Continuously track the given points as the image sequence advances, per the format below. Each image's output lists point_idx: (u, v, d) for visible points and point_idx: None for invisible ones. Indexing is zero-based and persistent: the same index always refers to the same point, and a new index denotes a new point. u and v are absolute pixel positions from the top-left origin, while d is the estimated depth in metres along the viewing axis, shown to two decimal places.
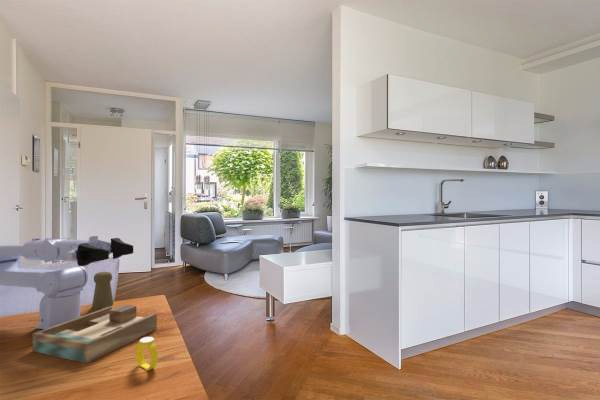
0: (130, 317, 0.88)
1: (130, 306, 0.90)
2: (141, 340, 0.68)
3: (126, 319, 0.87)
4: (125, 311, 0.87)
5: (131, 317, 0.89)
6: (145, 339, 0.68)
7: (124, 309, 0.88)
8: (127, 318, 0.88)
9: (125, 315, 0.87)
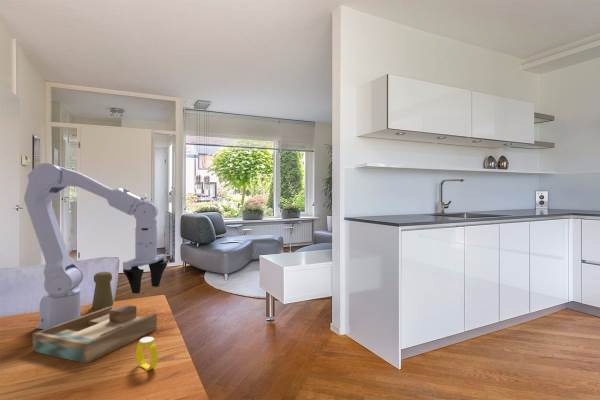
0: (130, 317, 0.88)
1: (130, 306, 0.90)
2: (141, 340, 0.68)
3: (126, 319, 0.87)
4: (125, 311, 0.87)
5: (131, 317, 0.89)
6: (145, 339, 0.68)
7: (124, 309, 0.88)
8: (127, 318, 0.88)
9: (125, 315, 0.87)
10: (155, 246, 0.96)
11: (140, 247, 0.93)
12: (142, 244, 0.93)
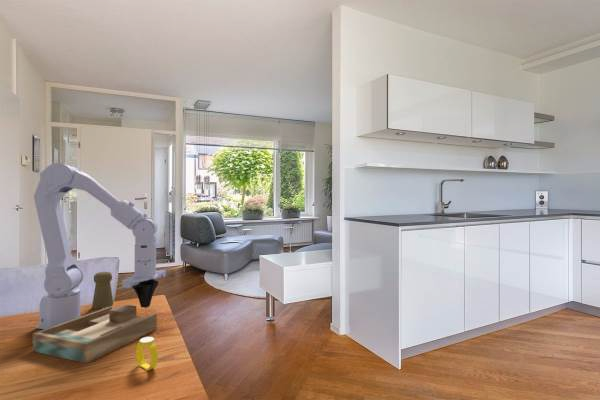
0: (130, 317, 0.88)
1: (130, 306, 0.90)
2: (141, 340, 0.68)
3: (126, 319, 0.87)
4: (125, 311, 0.87)
5: (131, 317, 0.89)
6: (145, 339, 0.68)
7: (124, 309, 0.88)
8: (127, 318, 0.88)
9: (125, 315, 0.87)
10: (154, 263, 0.96)
11: (139, 265, 0.93)
12: (141, 262, 0.93)
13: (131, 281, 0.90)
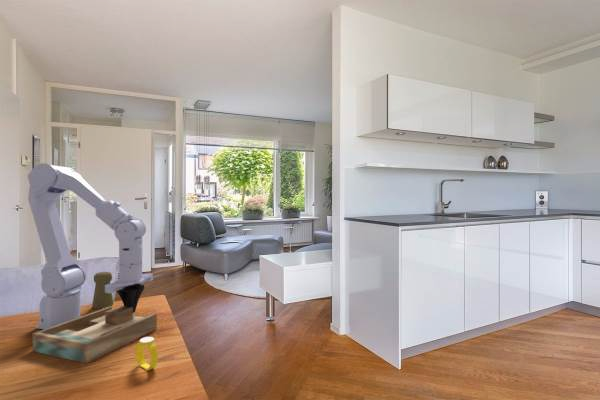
0: (126, 319, 0.87)
1: (126, 307, 0.89)
2: (141, 340, 0.68)
3: (122, 321, 0.86)
4: (121, 312, 0.86)
5: (127, 319, 0.88)
6: (145, 339, 0.68)
7: (120, 310, 0.86)
8: (123, 320, 0.86)
9: (121, 316, 0.86)
10: (140, 267, 0.91)
11: (124, 268, 0.88)
12: (126, 265, 0.88)
13: (115, 286, 0.85)
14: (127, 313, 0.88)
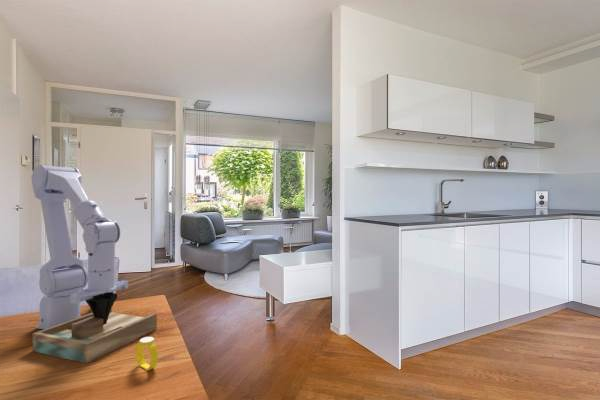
0: (95, 332, 0.79)
1: (96, 319, 0.80)
2: (141, 340, 0.68)
3: (91, 334, 0.78)
4: (89, 325, 0.77)
5: (97, 331, 0.79)
6: (145, 339, 0.68)
7: (88, 323, 0.78)
8: (92, 333, 0.78)
9: (89, 329, 0.77)
10: (112, 273, 0.82)
11: (93, 275, 0.80)
12: (95, 272, 0.80)
13: (81, 295, 0.76)
14: (96, 325, 0.79)
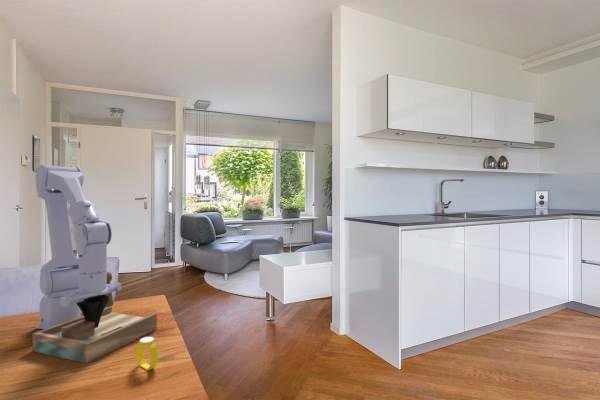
0: (86, 336, 0.76)
1: (87, 322, 0.78)
2: (141, 340, 0.68)
3: (81, 338, 0.75)
4: (80, 329, 0.75)
5: (88, 335, 0.77)
6: (145, 339, 0.68)
7: (79, 326, 0.76)
8: (82, 337, 0.76)
9: (80, 333, 0.75)
10: (104, 275, 0.80)
11: (84, 278, 0.77)
12: (86, 274, 0.77)
13: (71, 298, 0.74)
14: (87, 329, 0.77)
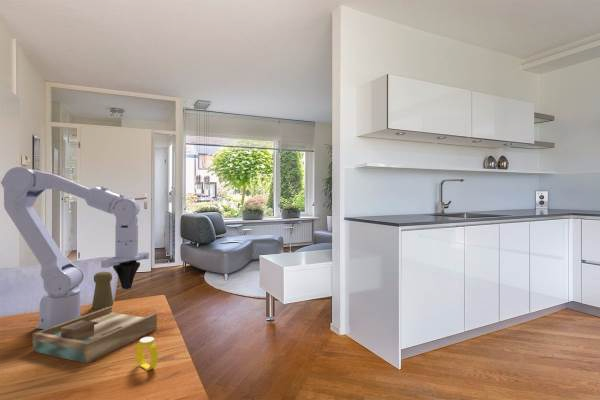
0: (85, 336, 0.76)
1: (87, 322, 0.78)
2: (141, 340, 0.68)
3: (80, 338, 0.75)
4: (79, 329, 0.75)
5: (87, 335, 0.77)
6: (145, 339, 0.68)
7: (78, 326, 0.76)
8: (82, 337, 0.76)
9: (79, 333, 0.75)
10: (136, 244, 0.94)
11: (120, 245, 0.91)
12: (122, 242, 0.91)
13: (110, 261, 0.88)
14: (87, 329, 0.77)
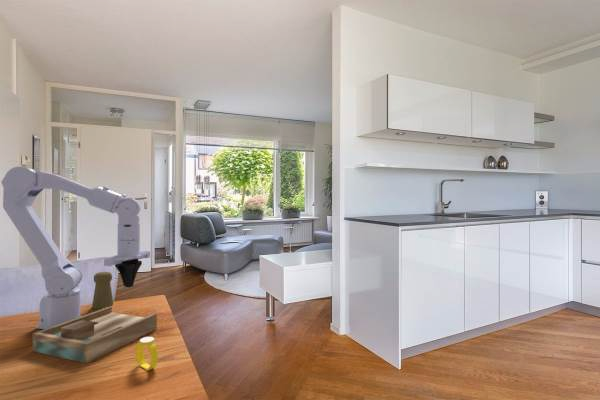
0: (85, 336, 0.76)
1: (87, 322, 0.78)
2: (141, 340, 0.68)
3: (80, 338, 0.75)
4: (79, 329, 0.75)
5: (87, 335, 0.77)
6: (145, 339, 0.68)
7: (78, 326, 0.76)
8: (82, 337, 0.76)
9: (79, 333, 0.75)
10: (137, 243, 0.96)
11: (122, 244, 0.93)
12: (124, 241, 0.93)
13: (113, 259, 0.90)
14: (87, 329, 0.77)
